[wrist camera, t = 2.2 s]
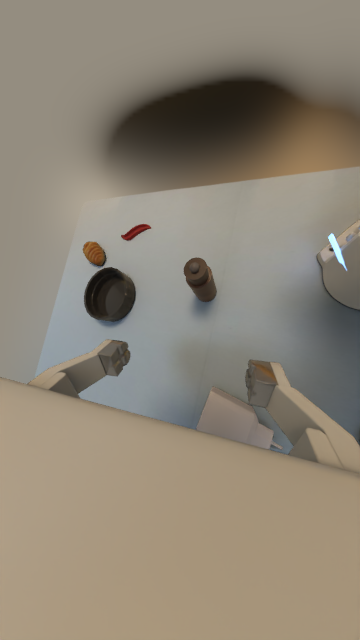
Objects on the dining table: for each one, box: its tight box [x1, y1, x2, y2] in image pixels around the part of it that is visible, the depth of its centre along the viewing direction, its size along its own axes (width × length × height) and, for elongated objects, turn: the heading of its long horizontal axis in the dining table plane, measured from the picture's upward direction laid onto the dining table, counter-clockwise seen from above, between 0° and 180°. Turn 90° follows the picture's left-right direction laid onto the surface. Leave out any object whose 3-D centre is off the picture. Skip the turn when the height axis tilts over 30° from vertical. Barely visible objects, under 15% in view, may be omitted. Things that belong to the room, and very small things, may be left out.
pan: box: [84, 267, 135, 321], centre depth 46 cm, size 16×16×4 cm
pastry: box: [83, 242, 105, 266], centre depth 52 cm, size 9×7×4 cm
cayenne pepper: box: [121, 224, 151, 240], centre depth 48 cm, size 12×5×2 cm, turn 83°
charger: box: [196, 386, 283, 450], centre depth 29 cm, size 5×9×15 cm
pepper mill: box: [184, 258, 217, 302], centre depth 31 cm, size 5×5×14 cm
